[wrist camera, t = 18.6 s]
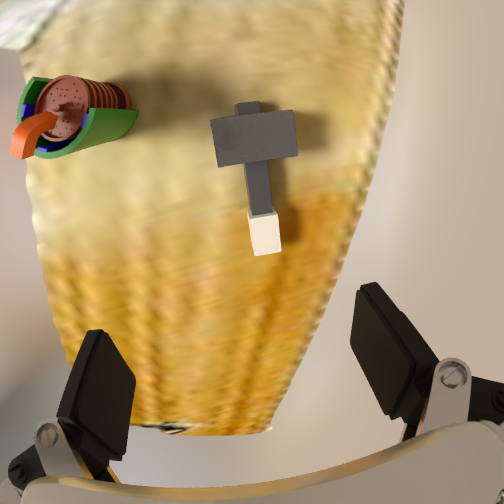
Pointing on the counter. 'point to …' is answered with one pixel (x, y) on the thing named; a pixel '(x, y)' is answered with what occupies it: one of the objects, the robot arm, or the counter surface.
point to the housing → (254, 137)
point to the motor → (69, 116)
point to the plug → (260, 199)
